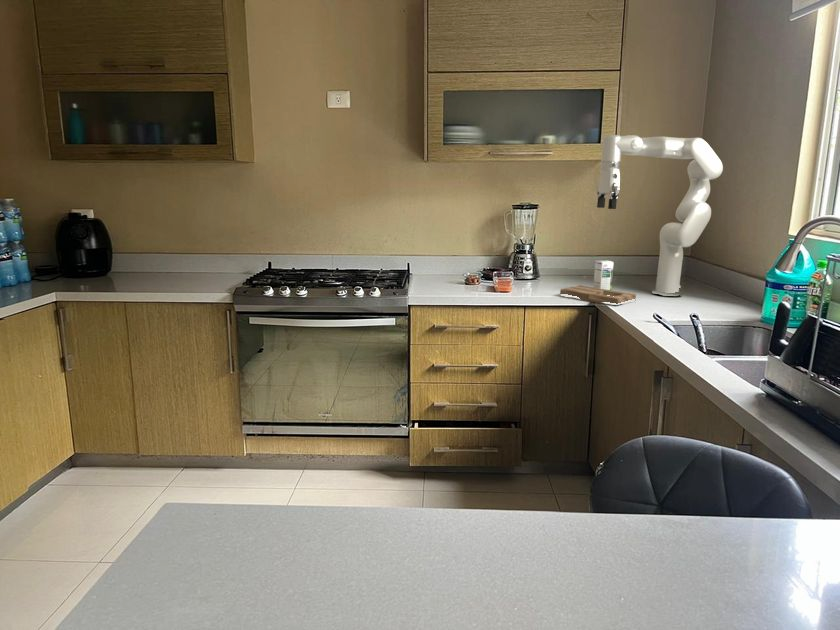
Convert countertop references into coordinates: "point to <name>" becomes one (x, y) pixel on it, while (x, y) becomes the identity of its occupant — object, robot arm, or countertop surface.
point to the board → (598, 294)
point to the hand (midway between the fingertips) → (606, 208)
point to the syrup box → (603, 274)
